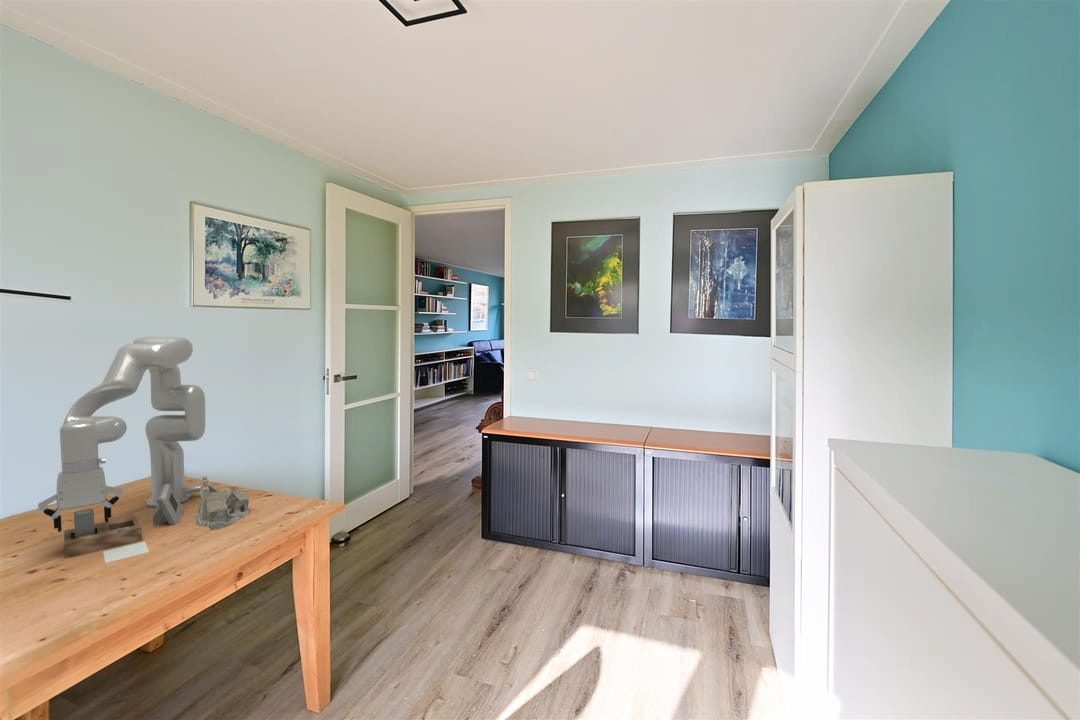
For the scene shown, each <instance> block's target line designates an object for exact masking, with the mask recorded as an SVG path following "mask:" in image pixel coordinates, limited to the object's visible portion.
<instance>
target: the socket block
mask: <svg viewBox="0 0 1080 720" xmlns="http://www.w3.org/2000/svg"><path fill="white" fill-rule="evenodd" d="M108 521H109V522H105V521H104V522H100V523H96V524H95V523H94V528H95V534H93V535H86V536H81V537H79V538H75V528H71V529H64V531H63V532H64V533H63V536H64V537H63V540H64V545H63V546H64V559H69V558H73V557H77V556H82V555H85V554H89V553H90V554H91V553H95V552H98V551H105V550H109V549H111V548H112V549H113V548H117V547H122V546H126V545H130V544H134V543H139V542H143V532H142V531H143V530H142V525H141V523H140V521H139V518H138V516H137V515H135V516H129V517H125V518H120V519H119V518H118V519H114V520H108Z"/></svg>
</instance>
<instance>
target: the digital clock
mask: <svg viewBox="0 0 1080 720" xmlns="http://www.w3.org/2000/svg"><path fill="white" fill-rule="evenodd" d="M157 503H158V505H157V506H156V507H155V509H154V512H153V515H152V524H153V526H154V525H157V524H164V523H165V524H166V523H168V524H169V526H174V525H175V526H176V525H178V524H180V523H181V520H182V516H183V511H184V508H183V506H182V504H181V503H180V502H179V500H178V498H177V496H176V494H175V493H174V491H173V489H172V487H171V485H170V484H165V485H164V486H162V488H161V490H160V492H159V495H158V497H157Z"/></svg>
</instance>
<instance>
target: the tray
mask: <svg viewBox="0 0 1080 720" xmlns="http://www.w3.org/2000/svg"><path fill="white" fill-rule="evenodd" d="M102 553H103V558H104V563H105V564H107V563H111V562H116V561H119V560H125V559H127V558H132V557H135V556H139V555H143V554H147V553H149V548H148V546H147V543H146V541H139V542H135V543H131V544H127V545H123V546H118V547H114V548H112V549H111V548H110V549H106V550H102Z"/></svg>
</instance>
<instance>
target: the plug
mask: <svg viewBox="0 0 1080 720" xmlns="http://www.w3.org/2000/svg"><path fill="white" fill-rule="evenodd" d="M94 513H95V511H94V508H87V509H86V508H85V509H80V510H76V511H74V512H73V519H74V529H75V538H79V537H81V536H86V535H93V534H95V528H94V525H95V514H94Z"/></svg>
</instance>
